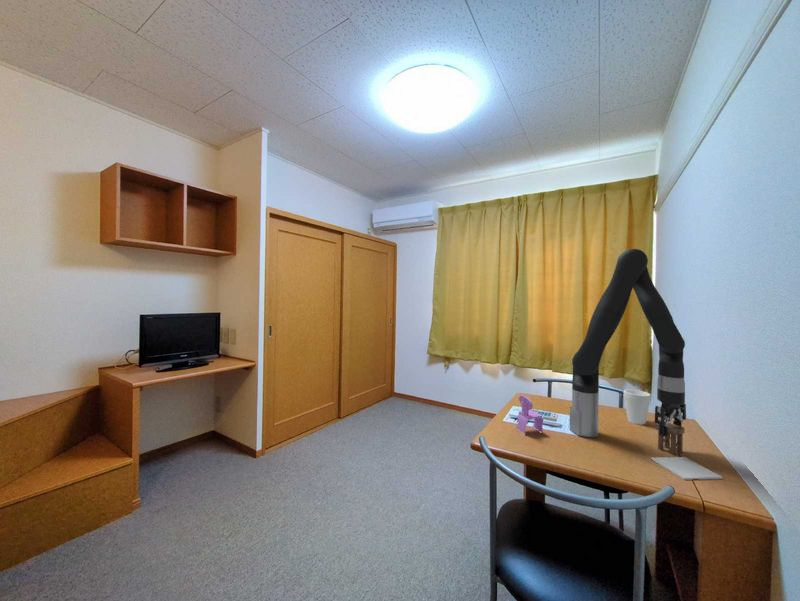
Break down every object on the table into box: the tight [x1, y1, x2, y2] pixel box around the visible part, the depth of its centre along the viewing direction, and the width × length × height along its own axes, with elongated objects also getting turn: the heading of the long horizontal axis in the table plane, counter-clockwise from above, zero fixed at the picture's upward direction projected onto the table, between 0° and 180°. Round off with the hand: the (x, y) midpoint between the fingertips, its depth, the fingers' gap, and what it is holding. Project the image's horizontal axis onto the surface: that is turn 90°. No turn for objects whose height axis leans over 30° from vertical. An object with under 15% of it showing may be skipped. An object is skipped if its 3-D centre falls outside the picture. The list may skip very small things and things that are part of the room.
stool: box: [656, 422, 685, 456], centre depth 113 cm, size 6×6×9 cm
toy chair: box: [515, 394, 544, 435], centre depth 129 cm, size 8×9×15 cm
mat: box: [650, 456, 723, 481], centre depth 101 cm, size 12×12×1 cm
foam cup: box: [623, 389, 652, 426], centre depth 139 cm, size 10×9×13 cm
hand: (670, 433), depth 113 cm, fingers open, 8 cm apart
